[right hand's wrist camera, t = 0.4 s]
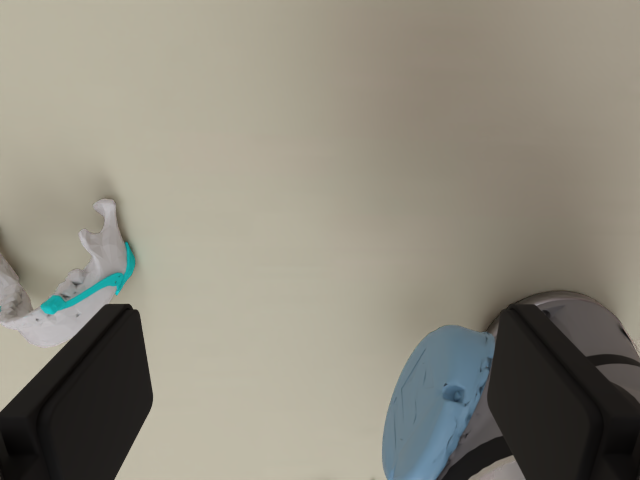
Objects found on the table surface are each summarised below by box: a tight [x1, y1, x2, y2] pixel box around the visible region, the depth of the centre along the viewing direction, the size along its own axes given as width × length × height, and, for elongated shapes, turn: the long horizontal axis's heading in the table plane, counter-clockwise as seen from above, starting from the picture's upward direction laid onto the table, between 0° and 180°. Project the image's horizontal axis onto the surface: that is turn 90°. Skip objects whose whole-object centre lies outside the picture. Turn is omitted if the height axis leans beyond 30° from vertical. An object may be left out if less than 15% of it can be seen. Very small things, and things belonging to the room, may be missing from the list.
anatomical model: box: [0, 199, 135, 348], centre depth 40 cm, size 15×10×10 cm
